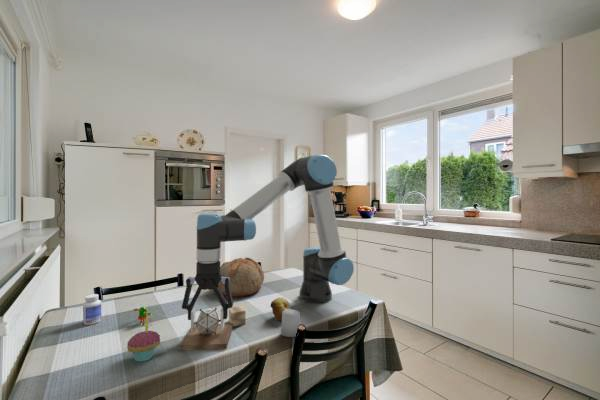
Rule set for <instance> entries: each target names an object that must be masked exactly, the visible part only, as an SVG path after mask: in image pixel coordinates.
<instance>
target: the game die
mask: <svg viewBox="0 0 600 400" xmlns="http://www.w3.org/2000/svg"><path fill="white" fill-rule="evenodd" d="M217 309H218V308H217V307H215V308H214V309H208V310H203V309H202V308H200V309H199V311H200V313H199V316H198V318H197V320H196V321H195V323H194V324H197V327H198V329H199V332H200V335H199V337H200V336H201V334H208V333H214V334H215V335H216V333H215V331H216V328H217V326H218V324H220V323H221V318H219V316H218V313H217Z"/></svg>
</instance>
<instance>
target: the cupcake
mask: <svg viewBox="0 0 600 400" xmlns="http://www.w3.org/2000/svg"><path fill="white" fill-rule="evenodd" d="M149 316H150V315H148V314H147V316H146V319H145V326H144V327H145V328H144V330H143V331H139V332H137V333H136V334H134V335H133V336H131V338H130V339H129V340H128V341H127V351H128V352H129V353H131V354H132V356H133V358H134V360H135V362H139V363H141V362H146V361H148V360H150V359H151V358H152V357H154V354H155V351H156V348H157V346H159V345H160V343H161V338H160V337H161V334H159V333H158V332H157V331H153V330H149Z"/></svg>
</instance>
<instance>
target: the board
mask: <svg viewBox="0 0 600 400" xmlns="http://www.w3.org/2000/svg"><path fill="white" fill-rule="evenodd" d="M220 329H221V323H218V326H217V328H216V331H215V333H216V335H215V334H214V333H208V334H201V336H200V337H199V335H200V332H199V329H198V327H197V324H195V329H194V331H191V327H190V328H189V330H187V333H186V334H185V337H184V338H183V339H182V341H181V343H180V344H179V351H196V350H199V351H200V350H216V349H217V350H218V349H219V350H220V349H223V350H224V349H228V348H227V347H228V344H229V342H230V340H231V335H232V332H233V329H234V326H233V323H230V322H228V323H225V322H224V329H223V330H220Z"/></svg>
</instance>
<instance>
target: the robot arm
mask: <svg viewBox="0 0 600 400" xmlns="http://www.w3.org/2000/svg"><path fill="white" fill-rule="evenodd" d="M337 173H338V169H337V165H336V164H335V161H334V160H333V159H332V158H331V157H329V156H328V155H325V154H314V155H310V156H306V157H300V158H298V159H296V160H294V161H293V162H292V163H290V164H288V165H287V166H286V167H284V169H282V170H281V171H280V172H279V173H278V174H277V175H278V176H277V177H275V178H274V179H273V180H271V181H270V182H269V183H267V184H266V185H265V186H263V187H262V188H260V189H259V190H258V191H256V192H255V193H254V194H252V195H250V197H248V198H247V199H245V200H244V201H243V202H242V203H240V204H238V205H237V206H236V207H235V208H233V209H232V210H230V211H229V212H228V213H226V214H224V215H221V214H220V213H200V214H199V215H198V216H197V218H196V219H197V220H196V258H195V259H196V261H197V262H196V265H195V266H196V272H195V273H196V274H195V276H193V277H192V276H189V277H187V278H186V280H185V284H186V288H185V292H184V295H183V301H182V304H181V310H186V311H187V320H188V321H190V328H191V331H194V329H195V324H194V323H195V322H196V318H197V317H196V313H197V312H196V311H197V310H196V309H197V308H196V307H194V306H195V304H196V302H197V300H198V299H199V296H200V294H201V293H202V292H203V291H206V290H213V292H214V293H215V295H216V297H217V300H218V302H219V303H220V306H221V309H220V319H221V322H220V324H221V329H220V330H223V329H224V323H225V320H227V319H228V317H229V308H232V307H234V300H233V297H232V294H231V289H230V285H229V282H230V277H229V276H228V277H222V276H221V274H220V267H221V261H220V260H221V249H222V248H221V245H222V243H223V242H237V241H239V242H240V241H242V242H243V241H244V242H246V241H250V240H253V239H254V238H255V236H256V234H257V225H256V222H255V220H254V218H255V217H257V215H259V214H260V213H262V212H263V211H264V210H266V209H267V208H268V207H270V206H271V205H272V204H273V203H275V202H276V201H277V200H279V199H280V198H281V197H282V196H284V195H285V194H287V193H288V192H289V191H290V192H292V191H294V190H296V189H298V188H299V187H302V186H304V190H305V192H306V193H307V194H308V195H309V196H310V202H311V207H312V213H313V217H314V218H313V219H314V222H315V227H316V232H317V239H318V243H319V244H318V245H319V246H318V247H316V246H315V247H307V248H305V249H304V251H303V256H302V257H303V259H302V260H303V265H302V266H303V268H302V269H303V270H302V271H303V272H302V274H303V276H302V277H303V279H302V283H301V286H300V288H299V292H298V293H299V296H298V297H299V299H300V300H302V301H304V302H306V303H315V304H319V303H327V302H329V301H331V300H332V298H333V293H332V289H331V286H330V284H332V285H337V286H341V285H346V284H347V283H348V282H349V281H350V279H351V278H352V276H353V274H354V268H355V267H354V263H353V260H351V259H350V258H349V257H347V254H346V249H345V248H344V247H343V246H342V245H341V240H340V236H339V234H340V233H339V230H338V225H337V224H338V223H337V219H336V214H335V207H334V201H333V196H332V189H333V188H334V187H335V186H334V181H335V180H336V177H337V175H338V174H337ZM220 281H222V282H223V284H225V291H226V296H225V295H223V294H222V292H221V290H220V287H219V285H218V283H219V282H220ZM194 283H196V284H197V285H198V288H197V289H196V291H195V293H194V295H193V297H192V299H191V301H190V296H191V292H192V288H193V285H194ZM225 297H226V299H227V300H226V299H225ZM189 301H190V302H189Z"/></svg>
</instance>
